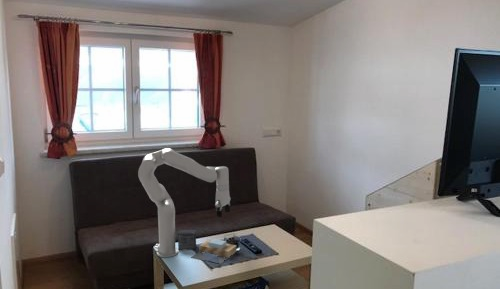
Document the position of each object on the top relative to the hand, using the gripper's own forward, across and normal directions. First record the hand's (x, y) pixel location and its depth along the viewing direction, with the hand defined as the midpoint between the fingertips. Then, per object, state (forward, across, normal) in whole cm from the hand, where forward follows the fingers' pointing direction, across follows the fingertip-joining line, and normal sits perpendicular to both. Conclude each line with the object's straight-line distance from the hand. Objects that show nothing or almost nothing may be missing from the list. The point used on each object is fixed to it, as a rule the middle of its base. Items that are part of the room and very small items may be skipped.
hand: (223, 214), depth 238 cm
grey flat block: (+18, +7, -1) cm, 19 cm away
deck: (+22, +7, -1) cm, 23 cm away
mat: (+21, +16, 0) cm, 27 cm away
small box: (+21, +10, -21) cm, 31 cm away
